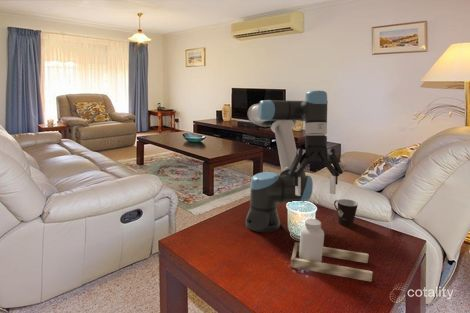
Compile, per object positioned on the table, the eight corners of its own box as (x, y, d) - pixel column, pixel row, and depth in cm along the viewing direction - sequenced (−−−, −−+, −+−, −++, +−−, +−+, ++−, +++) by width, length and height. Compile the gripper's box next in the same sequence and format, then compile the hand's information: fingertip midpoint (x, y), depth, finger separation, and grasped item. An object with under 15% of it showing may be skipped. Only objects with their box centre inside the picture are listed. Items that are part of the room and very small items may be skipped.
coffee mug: (358, 227, 137) (360, 206, 135) (338, 227, 137) (341, 205, 135) (349, 216, 149) (351, 197, 147) (331, 216, 149) (333, 196, 147)
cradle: (290, 267, 106) (291, 259, 105) (294, 249, 118) (295, 242, 117) (371, 281, 99) (372, 273, 98) (367, 261, 111) (368, 253, 110)
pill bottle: (308, 269, 105) (312, 228, 102) (293, 257, 112) (296, 219, 109) (326, 263, 109) (330, 224, 105) (311, 252, 116) (314, 215, 112)
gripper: (287, 134, 104) (287, 197, 105) (353, 135, 110) (352, 194, 111) (279, 135, 111) (278, 194, 112) (341, 135, 117) (340, 191, 118)
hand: (315, 194), depth 111 cm, fingers open, 13 cm apart
